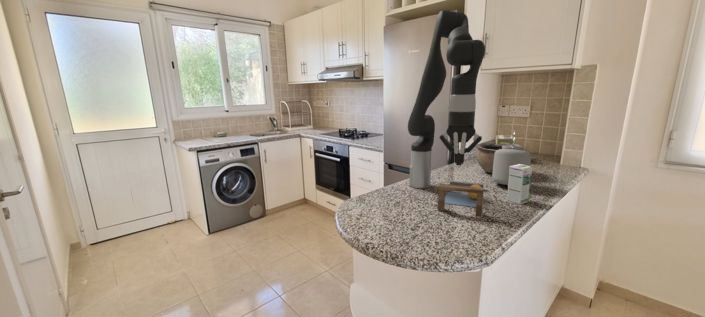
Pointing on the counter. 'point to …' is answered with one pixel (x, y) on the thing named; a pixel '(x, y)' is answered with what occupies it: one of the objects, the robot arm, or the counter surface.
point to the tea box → (505, 139)
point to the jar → (508, 162)
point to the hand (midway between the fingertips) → (458, 164)
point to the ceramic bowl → (489, 154)
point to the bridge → (463, 189)
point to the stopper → (464, 183)
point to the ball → (474, 195)
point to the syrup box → (519, 183)
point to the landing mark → (459, 199)
